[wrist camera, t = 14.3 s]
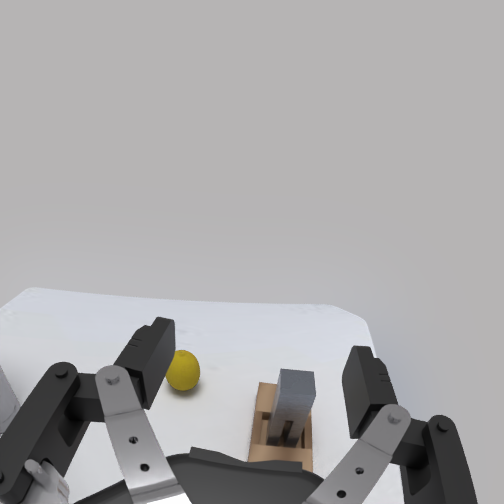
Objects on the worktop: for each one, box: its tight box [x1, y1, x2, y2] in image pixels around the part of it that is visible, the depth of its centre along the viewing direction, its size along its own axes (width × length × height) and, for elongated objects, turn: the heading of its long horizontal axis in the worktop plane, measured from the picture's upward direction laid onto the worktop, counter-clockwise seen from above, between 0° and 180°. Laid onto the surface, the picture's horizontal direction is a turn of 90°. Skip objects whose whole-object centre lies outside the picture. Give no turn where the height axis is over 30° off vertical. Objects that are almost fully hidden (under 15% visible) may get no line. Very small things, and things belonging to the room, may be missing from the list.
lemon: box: [165, 350, 200, 391], centre depth 45 cm, size 6×6×8 cm
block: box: [266, 369, 316, 448], centre depth 35 cm, size 4×4×12 cm
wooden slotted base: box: [248, 382, 313, 472], centre depth 37 cm, size 8×18×4 cm, turn 174°
